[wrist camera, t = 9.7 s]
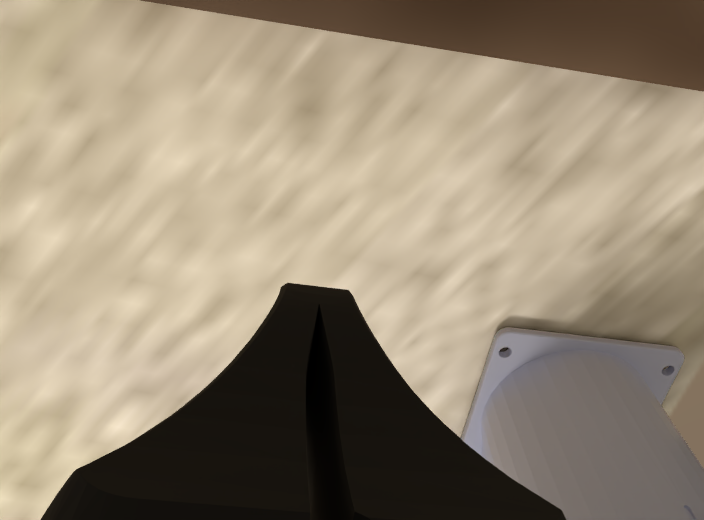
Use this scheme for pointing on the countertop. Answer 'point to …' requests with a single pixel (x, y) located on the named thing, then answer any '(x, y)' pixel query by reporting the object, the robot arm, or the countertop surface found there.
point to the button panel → (515, 30)
